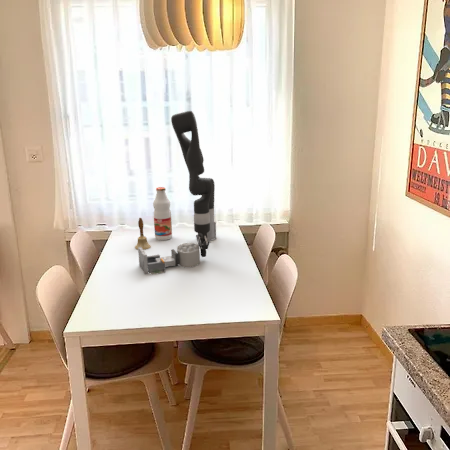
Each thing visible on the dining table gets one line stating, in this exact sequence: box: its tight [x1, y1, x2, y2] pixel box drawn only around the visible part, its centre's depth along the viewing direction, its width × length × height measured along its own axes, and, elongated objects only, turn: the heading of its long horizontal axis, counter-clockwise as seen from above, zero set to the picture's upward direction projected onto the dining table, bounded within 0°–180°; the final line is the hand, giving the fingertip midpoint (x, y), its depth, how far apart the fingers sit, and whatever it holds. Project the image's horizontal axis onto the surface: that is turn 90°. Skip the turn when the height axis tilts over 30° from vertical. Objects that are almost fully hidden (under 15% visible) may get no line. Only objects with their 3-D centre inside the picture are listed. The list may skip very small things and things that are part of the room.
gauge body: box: [137, 247, 166, 275], centre depth 227 cm, size 10×14×9 cm
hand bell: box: [134, 217, 152, 251], centre depth 255 cm, size 8×8×16 cm
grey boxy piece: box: [155, 249, 179, 268], centre depth 228 cm, size 9×11×6 cm
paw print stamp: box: [176, 242, 201, 268], centre depth 234 cm, size 10×13×9 cm
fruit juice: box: [152, 186, 173, 241], centre depth 268 cm, size 9×9×28 cm
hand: (203, 256), depth 237 cm, fingers closed
